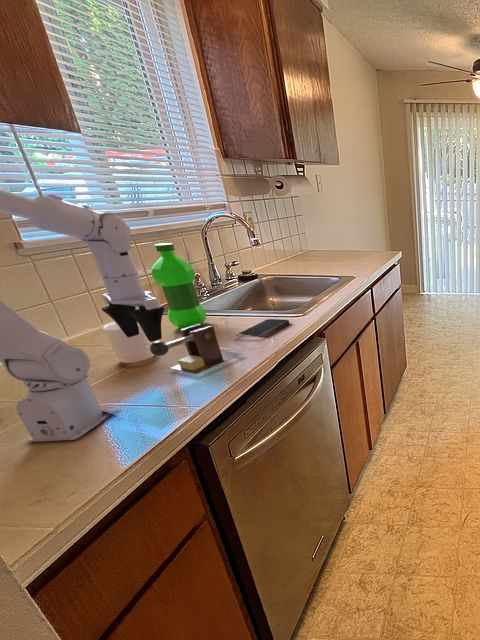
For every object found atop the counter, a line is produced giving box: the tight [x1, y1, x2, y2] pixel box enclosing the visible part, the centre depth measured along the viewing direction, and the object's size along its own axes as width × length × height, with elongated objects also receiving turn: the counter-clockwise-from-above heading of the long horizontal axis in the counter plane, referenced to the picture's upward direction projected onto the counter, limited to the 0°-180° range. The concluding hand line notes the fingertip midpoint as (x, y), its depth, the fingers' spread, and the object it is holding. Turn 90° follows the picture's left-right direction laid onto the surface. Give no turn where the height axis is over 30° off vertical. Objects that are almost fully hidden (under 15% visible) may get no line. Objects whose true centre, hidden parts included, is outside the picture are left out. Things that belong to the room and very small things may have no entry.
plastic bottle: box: [151, 242, 207, 329], centre depth 119 cm, size 10×10×25 cm
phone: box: [235, 318, 290, 339], centre depth 119 cm, size 8×1×15 cm
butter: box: [177, 355, 205, 370], centre depth 94 cm, size 3×4×2 cm
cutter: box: [150, 328, 201, 357], centre depth 90 cm, size 12×3×3 cm, turn 159°
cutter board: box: [171, 324, 242, 375], centre depth 95 cm, size 12×9×10 cm
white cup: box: [102, 321, 155, 364], centre depth 98 cm, size 8×8×10 cm
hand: (144, 337), depth 86 cm, fingers open, 7 cm apart
